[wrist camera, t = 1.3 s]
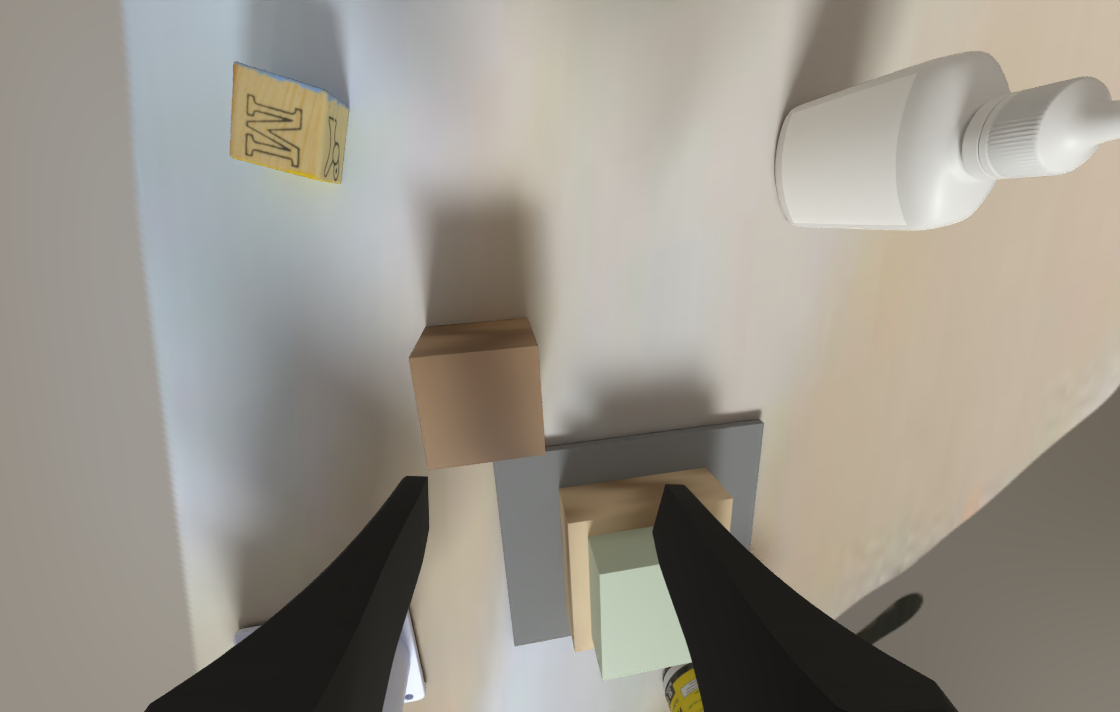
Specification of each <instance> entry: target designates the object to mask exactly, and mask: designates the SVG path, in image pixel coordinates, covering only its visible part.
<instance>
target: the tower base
mask: <svg viewBox="0 0 1120 712" xmlns="http://www.w3.org/2000/svg"><path fill="white" fill-rule="evenodd" d="M665 484H683V485H685V486H686V487H687V488H688V489H689V490H690V491H691V492H692V493H693V494H694V495H695V496H696V497H697V498H698V500H699V501H700V502H701V503H702V504H703V505H704V506H705V507H706V508H707V509H708V510H709V511H710V512H711V513H712V514H713V516H714V517H715V518H716V519H717V520H718V521H719V522H720V523H721V524H722V525H723V526H724V527H725V528H726V529H727V530H728V531H729V532H730V525H731V514H732V504H733V498H732V497H731V495H730V494H729V493H728V492H727V491H726V490H725V488H724V487H723V486H722V485H721V484H720V483H719V482H718V480H717V479H716V478H715V477H714V476H713V475H712V473H711V472H710V471H709V470H708V469H707V468H706V467H705V468H698V469H691V470H684V471H677V472H670V473H663V474H656V475H649V476H642V477H635V478H628V479H621V480H614V481H607V482H600V483H593V484H586V485H579V486H572V487H566V488H559V503H560V519H561V535H562V551H563V567H564V583H565V600H566V610H567V615H568V620H569V625H570V630H571V635H572V640H573V645H574V650H575V652H579V651H584V650H589V649H594V644H593V640H592V636H591V610H590V583H589V557H588V537H589V536H595V535H602V534H608V533H614V532H620V531H627V530H633V529H639V528H645V527H652V526H654V523H655V520H656V516H657V512H658V509H659V505H660V502H661V498H662V494H663V491H664V487H665Z"/></svg>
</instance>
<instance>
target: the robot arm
mask: <svg viewBox="0 0 1120 712" xmlns="http://www.w3.org/2000/svg"><path fill="white" fill-rule="evenodd" d="M428 532H429V505H428V477H423V476H406V477H404V478H403V479H402V480H401V482H400V483H399V485H398V486H397V487H396V489H395V490H394V491H393V493H392V494H391V495H390V497H389V498H388V499H387V501H386V502H385V503H384V505H383V506H382V507H381V508H380V510H379V511H378V512H377V513H376V515H375V516H374V517H373V518H372V519H371V520H370V522H369V523H368V524H367V525H366V526H365V528H364V529H363V530H362V531H361V532H360V533H359V535H358V536H357V537H356V538H355V539H354V540H353V541H352V542H351V543H350V544H349V545H348V546H347V548H346V549H345V550H344V551H343V552H342V553H341V554H340V555H339V556H338V557H337V558H336V559H335V560H334V561H333V562H332V563H331V564H330V565H329V566H328V567H327V568H326V569H325V570H324V571H323V572H322V573H321V574H320V575H319V576H318V577H317V578H316V579H315V580H314V581H313V582H312V583H311V584H310V585H308V586H307V587H306V588H305V589H304V590H303V591H302V592H301V593H300V594H298V595H297V596H296V597H295V598H294V599H293V600H292V601H290V602H289V603H288V604H287V605H286V606H285V607H283V608H282V609H281V610H280V611H279V612H278V613H276V614H275V615H274V616H273V617H272V618H270V619H269V620H268V621H267V622H265V623H264V624H263V625H261V626H255V627H249V628H243V629H240V630H239V631H237V633H236V634H235V636H234V638H233V642H234V645H235V646H234V647H233V648H231V649H230V650H229V651H227V652H226V653H225V654H223V655H222V656H221V657H219V658H218V659H216V660H215V661H214V662H212V663H211V664H209V665H208V666H206V667H205V668H203V669H202V670H201V671H199V672H198V673H196V674H195V675H193V676H192V677H190V678H189V679H187V680H186V681H184V682H183V683H181V684H180V685H178V686H177V687H175V688H174V689H172V690H171V691H169V692H168V693H166V694H165V695H163V696H162V697H160V698H158V699H157V700H155V701H154V702H152V703H151V704H150V705H149V706H148V707H147V709H146V710H145V711H144V712H403V706H404V703H407V702H412V701H417V700H420V699H422V698H423V697H424V696H425V692H426V687H425V682H424V678H423V673H422V668H421V664H420V659H419V655H418V650H417V645H416V641H415V636H414V631H413V627H412V622H411V618H410V613H409V606H410V602H411V599H412V596H413V593H414V589H415V586H416V583H417V579H418V576H419V573H420V570H421V566H422V563H423V558H424V553H425V548H426V542H427V537H428ZM652 534H653V538H654V543H655V548H656V553H657V557H658V561H659V565H660V568H661V571H662V574H663V577H664V580H665V583H666V586H667V589H668V592H669V595H670V598H671V600H672V603H673V606H674V609H675V612H676V615H677V617H678V620H679V623H680V626H681V629H682V632H683V635H684V637H685V640H686V644H687V647H688V650H689V653H690V657H691V660H692V664H693V668H694V672H695V676H696V680H697V684H698V688H699V692H700V696H701V700H702V705H703V709H704V712H958V711H957V709H956V708H955V707H954V706H953V704H952V703H951V702H950V700H949V699H948V698H947V697H946V695H945V694H944V693H943V691H942V690H941V689H940V688H939V686H938V685H937V684H936V683H935V681H933V680H931V679H929V678H928V677H926V676H924V675H922V674H921V673H919V672H917V671H915V670H914V669H912V668H910V667H908V666H907V665H905V664H903V663H901V662H900V661H898V660H896V659H894V658H893V657H891V656H889V655H887V654H886V653H884V652H882V651H881V650H879V649H878V648H876V647H874V646H873V645H871V644H870V643H868V642H867V641H865V640H863V639H862V638H860V637H859V636H857V635H856V634H854V633H853V632H851V631H850V630H848V629H847V628H845V627H843V626H842V625H841V624H839V623H838V622H836V621H835V620H833V619H832V618H831V617H829V616H828V615H826V614H825V613H824V612H822V611H821V610H819V609H818V608H817V607H815V606H814V605H813V604H811V603H810V602H809V601H807V600H806V599H805V598H803V597H802V596H801V595H799V594H798V593H797V592H796V591H794V590H793V589H792V588H791V587H789V586H788V585H787V584H786V583H785V582H783V581H782V580H781V579H780V578H778V577H777V576H776V575H775V574H774V573H773V572H771V571H770V570H769V569H768V568H767V567H766V566H765V565H763V564H762V563H761V562H760V561H759V560H758V559H757V558H756V557H755V556H754V555H753V554H752V553H750V552H749V551H748V550H747V549H746V548H745V547H744V546H743V545H742V544H741V543H740V542H739V541H738V540H737V539H736V538H735V537H734V536H733V535H732V534H731V533H730V532H729V531H728V530H727V529H726V528H725V527H724V526H723V525H722V524H721V523H720V522H719V521H718V520H717V519H716V518H715V517H714V516H713V514H712V513H711V512H710V511H709V510H708V509H707V508H706V507H705V506H704V505H703V504H702V503H701V502H700V501H699V500H698V498H697V497H696V496H695V495H694V494H693V493H692V492H691V491H690V490H689V489H688V488H687V487H686V486H685V485H683V484H665V487H664V491H663V494H662V498H661V502H660V505H659V509H658V512H657V516H656V520H655V523H654V527H653V531H652Z"/></svg>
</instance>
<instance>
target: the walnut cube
mask: <svg viewBox="0 0 1120 712" xmlns="http://www.w3.org/2000/svg"><path fill="white" fill-rule="evenodd" d="M409 363H410V368H411V374H412V380H413V386H414V391H415V397H416V403H417V409H418V414H419V420H420V426H421V432H422V437H423V443H424V449H425V454H426V460H427V466H428V470H434V469H441V468H449V467H456V466H464V465H472V464H479V463H487V462H495V461H502V460H510V459H517V458H525V457H533V456H540V455H546V452H545V438H544V423H543V409H542V395H541V381H540V367H539V353H538V344H537V342H536V339H535V337H534V334H533V332H532V329H531V326H530V324H529V321H528V319H527V318H520V319H509V320H497V321H486V322H474V323H463V324H451V325H440V326H429V327H425V329H424V331H423V333H422V335H421V337H420V338H419V340H418V342H417V344H416V346H415V348H414V349H413V351H412V353H411V355H410V357H409Z"/></svg>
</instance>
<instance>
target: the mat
mask: <svg viewBox="0 0 1120 712" xmlns="http://www.w3.org/2000/svg"><path fill="white" fill-rule="evenodd" d="M763 427H764V423H763V422H762V421H761V420H759V419H758V420H750V421H742V422H735V423H727V424H719V425H711V426H704V427H696V428H688V429H681V430H673V431H665V432H657V433H650V434H642V435H634V436H626V437H619V438H611V439H603V440H596V441H588V442H580V443H572V444H565V445H557V446H549V447H545V452H546V455H540V456H533V457H525V458H517V459H510V460H502V461H495V462H493V465H494V474H495V483H496V491H497V500H498V508H499V517H500V525H501V534H502V542H503V551H504V560H505V568H506V577H507V585H508V594H509V602H510V611H511V619H512V628H513V637H514V645H515V646H519V645H525V644H530V643H535V642H540V641H545V640H551V639H556V638H561V637H566V636H572V635H571V630H570V625H569V620H568V615H567V610H566V600H565V583H564V567H563V551H562V535H561V519H560V503H559V488H566V487H572V486H579V485H586V484H593V483H600V482H607V481H614V480H621V479H628V478H635V477H642V476H649V475H656V474H663V473H670V472H677V471H684V470H691V469H698V468H705V467H706V468H707V469H708V470H709V471H710V472H711V473H712V475H713V476H714V477H715V478H716V479H717V480H718V482H719V483H720V484H721V485H722V486H723V487H724V488H725V490H726V491H727V492H728V493H729V494H730V495H731V497H732V498H733V504H732V514H731V525H730V533H731V534H732V535H733V536H734V537H735V538H736V539H737V540H738V541H739V542H740V543H741V544H742V545H743V546H744V547H745V548H746V549H747V550H748V551H750V543H751V534H752V525H753V516H754V507H755V498H756V489H757V481H758V472H759V463H760V454H761V445H762V436H763Z"/></svg>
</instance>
